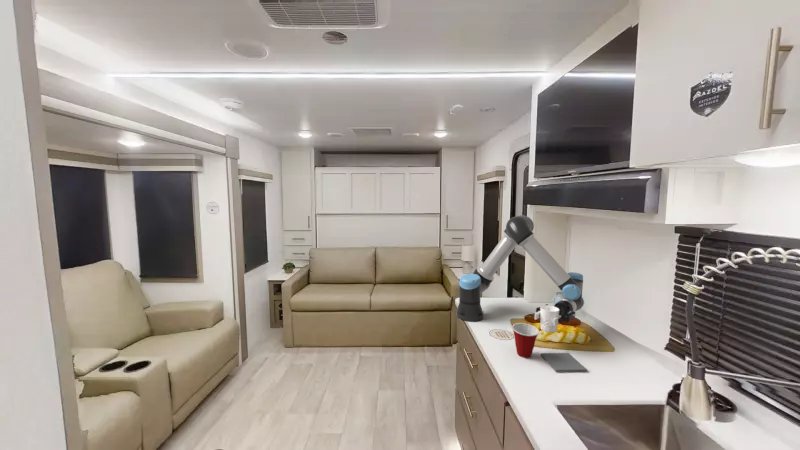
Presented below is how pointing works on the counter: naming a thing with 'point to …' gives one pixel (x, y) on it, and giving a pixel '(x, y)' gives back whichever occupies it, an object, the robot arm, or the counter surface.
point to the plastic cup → (524, 338)
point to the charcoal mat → (563, 362)
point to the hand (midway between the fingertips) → (544, 319)
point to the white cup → (548, 318)
